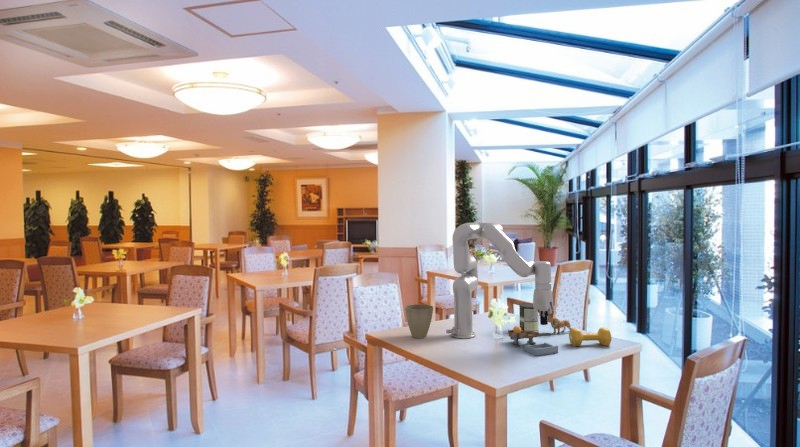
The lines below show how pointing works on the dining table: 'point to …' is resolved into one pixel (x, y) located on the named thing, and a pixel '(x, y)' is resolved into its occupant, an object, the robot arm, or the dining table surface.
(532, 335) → the brown tilting tray
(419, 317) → the plant pot
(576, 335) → the dumbbell
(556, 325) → the lion figurine
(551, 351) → the tray
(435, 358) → the dining table surface
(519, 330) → the ball
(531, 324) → the coffee can
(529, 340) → the lever stand
